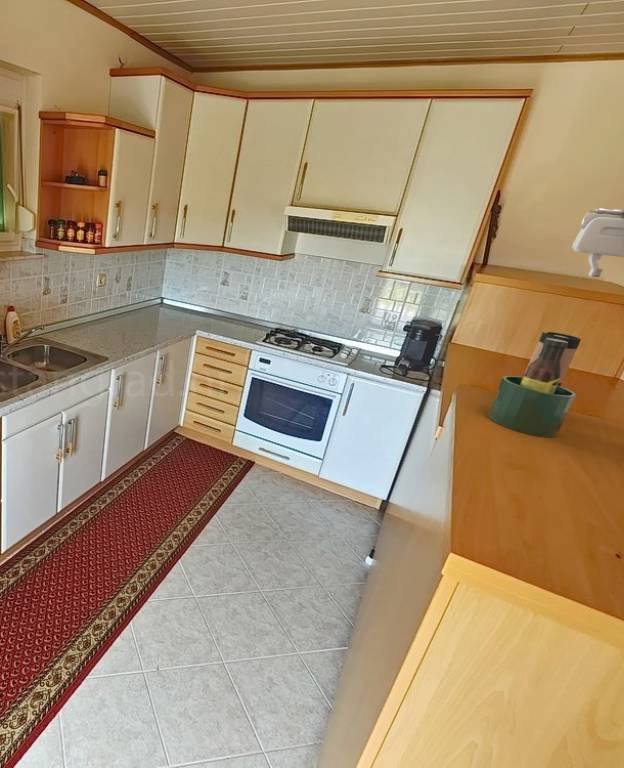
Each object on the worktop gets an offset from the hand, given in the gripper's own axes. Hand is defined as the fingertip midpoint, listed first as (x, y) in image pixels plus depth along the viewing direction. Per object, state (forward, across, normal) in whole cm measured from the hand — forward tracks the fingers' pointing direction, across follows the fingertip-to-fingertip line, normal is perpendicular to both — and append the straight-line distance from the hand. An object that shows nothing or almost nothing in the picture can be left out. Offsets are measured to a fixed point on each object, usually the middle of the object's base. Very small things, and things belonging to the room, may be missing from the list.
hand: (622, 280), depth 104 cm
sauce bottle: (+34, -7, -4) cm, 35 cm away
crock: (+35, -7, -4) cm, 36 cm away
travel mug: (+35, -2, +14) cm, 38 cm away
